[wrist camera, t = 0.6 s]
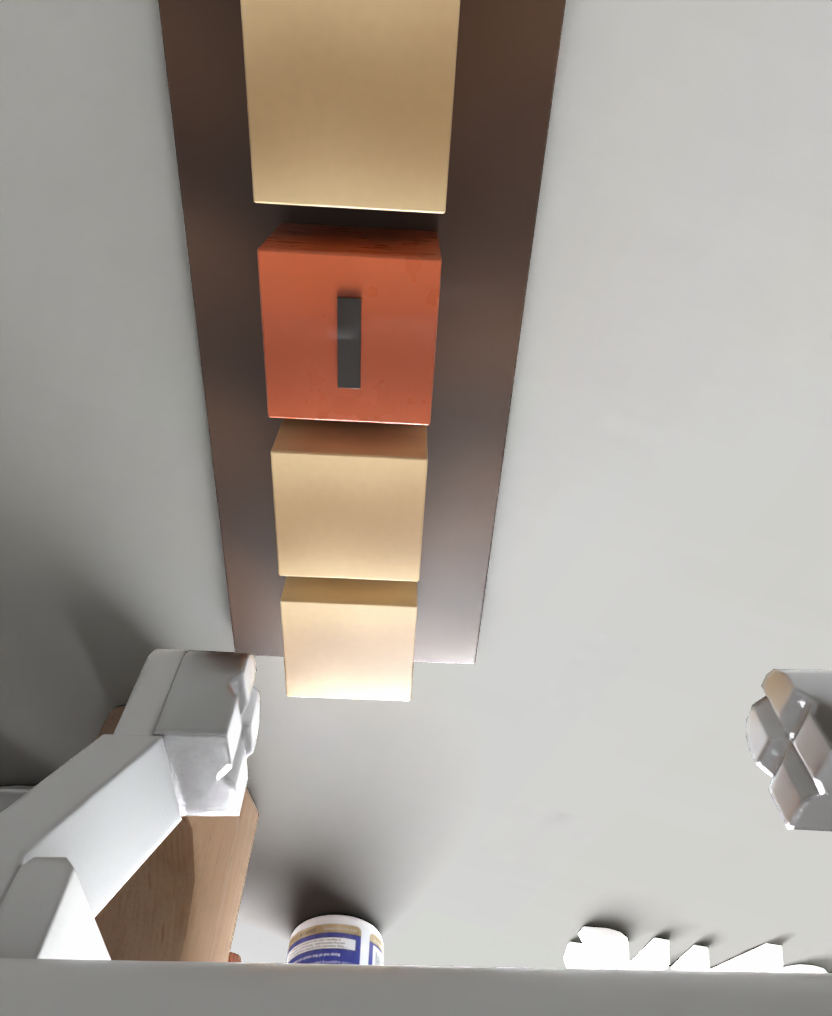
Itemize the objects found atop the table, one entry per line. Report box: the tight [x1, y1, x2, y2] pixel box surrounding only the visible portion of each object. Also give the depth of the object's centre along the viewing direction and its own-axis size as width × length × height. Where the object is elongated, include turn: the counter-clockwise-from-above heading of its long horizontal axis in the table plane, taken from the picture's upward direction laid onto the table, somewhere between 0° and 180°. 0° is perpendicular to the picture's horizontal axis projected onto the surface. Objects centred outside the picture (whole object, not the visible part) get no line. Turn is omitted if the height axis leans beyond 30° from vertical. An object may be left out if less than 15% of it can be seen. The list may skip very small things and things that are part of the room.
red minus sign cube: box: [257, 223, 442, 425], centre depth 19 cm, size 4×4×4 cm
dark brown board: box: [158, 0, 566, 701], centre depth 21 cm, size 24×10×4 cm, turn 177°
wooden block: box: [94, 706, 259, 962], centre depth 26 cm, size 9×4×18 cm, turn 10°
